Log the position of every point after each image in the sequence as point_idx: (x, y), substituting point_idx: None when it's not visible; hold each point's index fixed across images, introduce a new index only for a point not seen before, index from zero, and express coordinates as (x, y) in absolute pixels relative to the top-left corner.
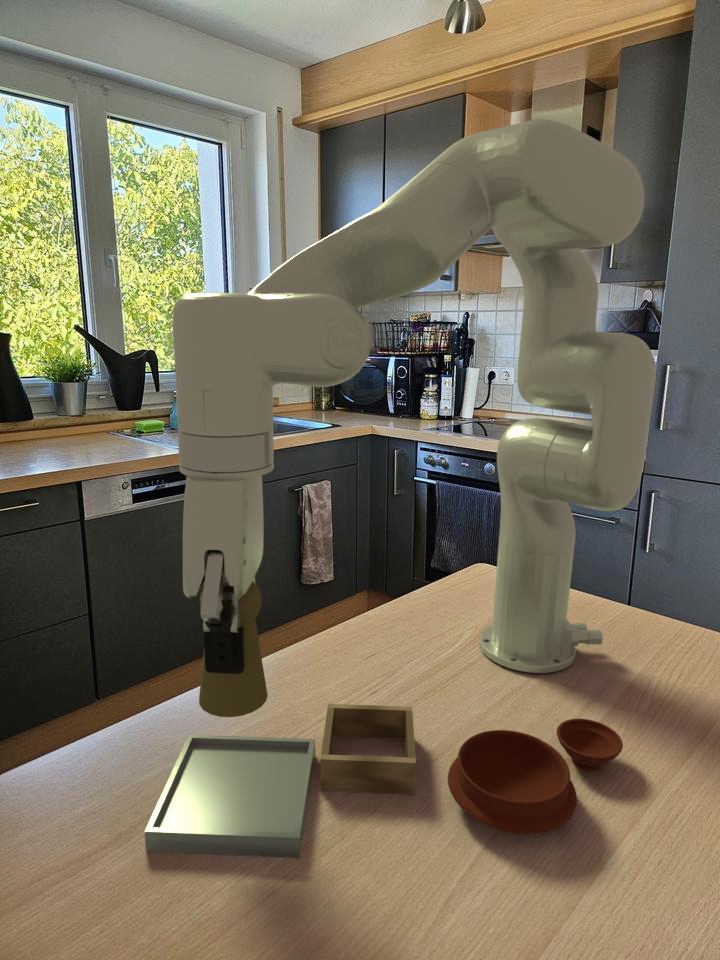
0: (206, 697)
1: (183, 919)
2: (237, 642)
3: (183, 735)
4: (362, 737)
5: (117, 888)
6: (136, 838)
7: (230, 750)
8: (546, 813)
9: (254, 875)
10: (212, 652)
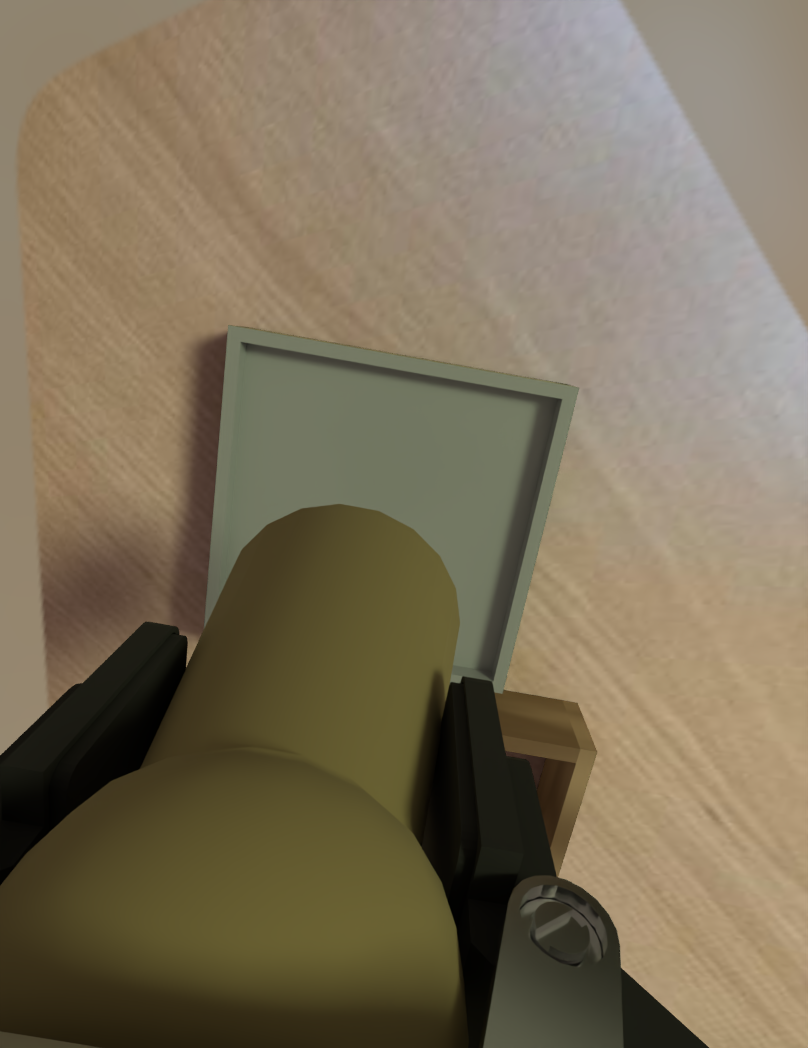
0: (249, 554)
1: (90, 424)
2: None
3: (641, 359)
4: (543, 767)
5: (154, 284)
6: (282, 297)
7: (516, 495)
8: None
9: (182, 543)
10: (31, 726)
